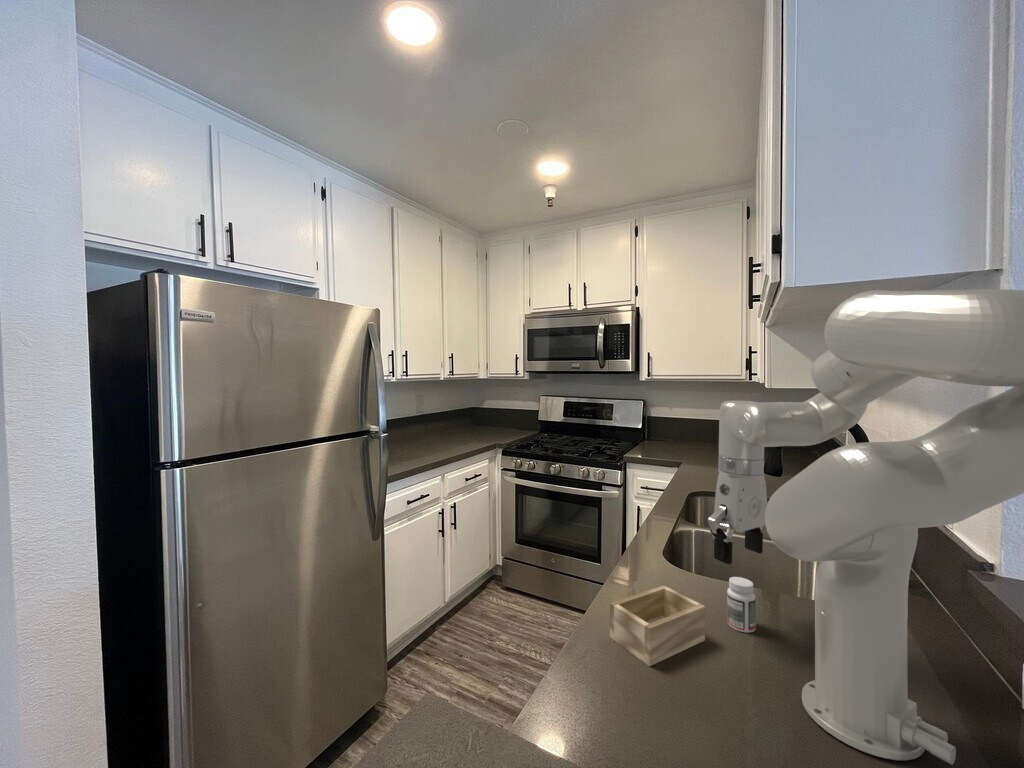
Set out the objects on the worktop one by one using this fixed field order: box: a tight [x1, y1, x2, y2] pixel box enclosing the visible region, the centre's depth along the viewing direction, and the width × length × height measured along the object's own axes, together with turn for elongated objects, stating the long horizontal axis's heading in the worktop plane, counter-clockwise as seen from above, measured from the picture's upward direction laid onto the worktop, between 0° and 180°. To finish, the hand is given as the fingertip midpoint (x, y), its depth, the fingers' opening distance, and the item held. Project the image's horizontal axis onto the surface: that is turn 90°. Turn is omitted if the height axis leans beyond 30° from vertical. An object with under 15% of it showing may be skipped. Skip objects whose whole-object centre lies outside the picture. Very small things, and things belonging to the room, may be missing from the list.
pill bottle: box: [726, 576, 757, 633], centre depth 78 cm, size 5×5×8 cm
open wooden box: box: [609, 584, 706, 667], centre depth 74 cm, size 9×14×6 cm, turn 120°
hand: (738, 555), depth 79 cm, fingers open, 9 cm apart
